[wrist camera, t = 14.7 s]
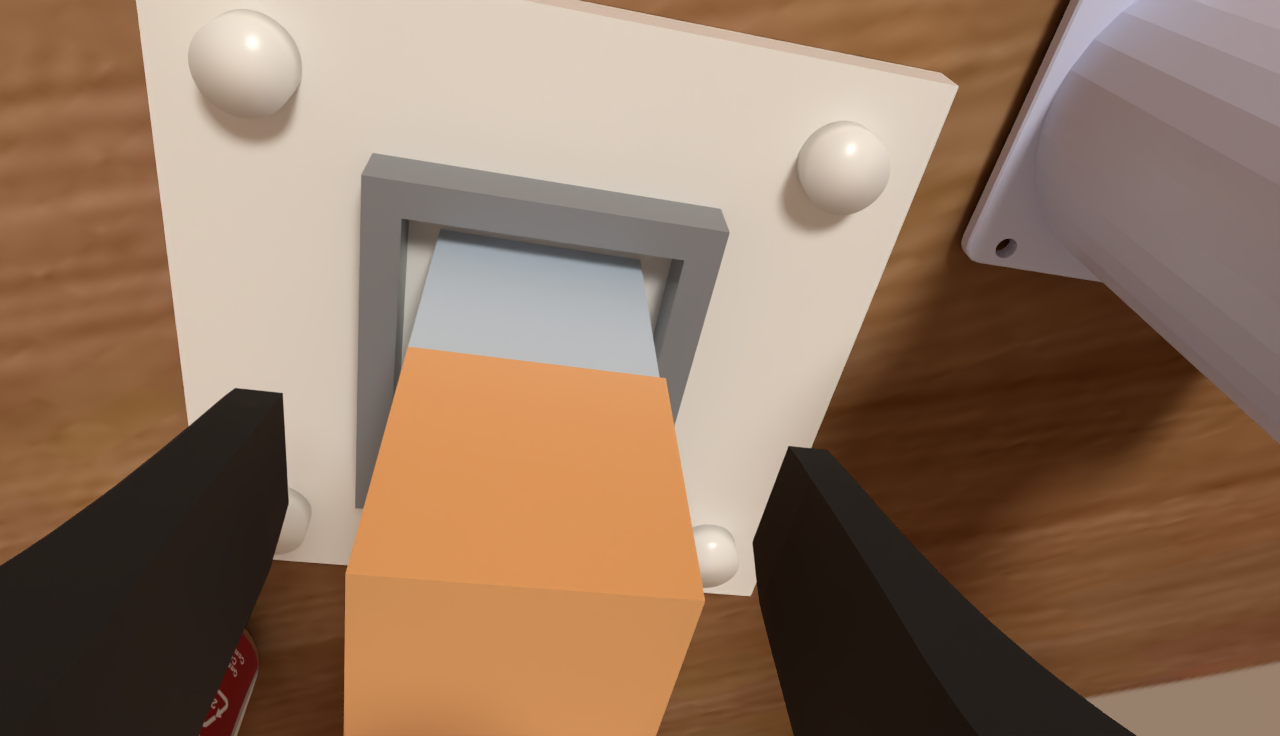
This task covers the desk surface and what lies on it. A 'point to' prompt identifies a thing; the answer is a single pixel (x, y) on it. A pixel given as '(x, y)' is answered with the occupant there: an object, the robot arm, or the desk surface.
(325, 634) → the desk surface
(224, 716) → the soda can
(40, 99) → the desk surface
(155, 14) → the baseplate
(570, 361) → the light grey block
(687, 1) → the desk surface
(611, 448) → the orange brick
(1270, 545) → the desk surface
